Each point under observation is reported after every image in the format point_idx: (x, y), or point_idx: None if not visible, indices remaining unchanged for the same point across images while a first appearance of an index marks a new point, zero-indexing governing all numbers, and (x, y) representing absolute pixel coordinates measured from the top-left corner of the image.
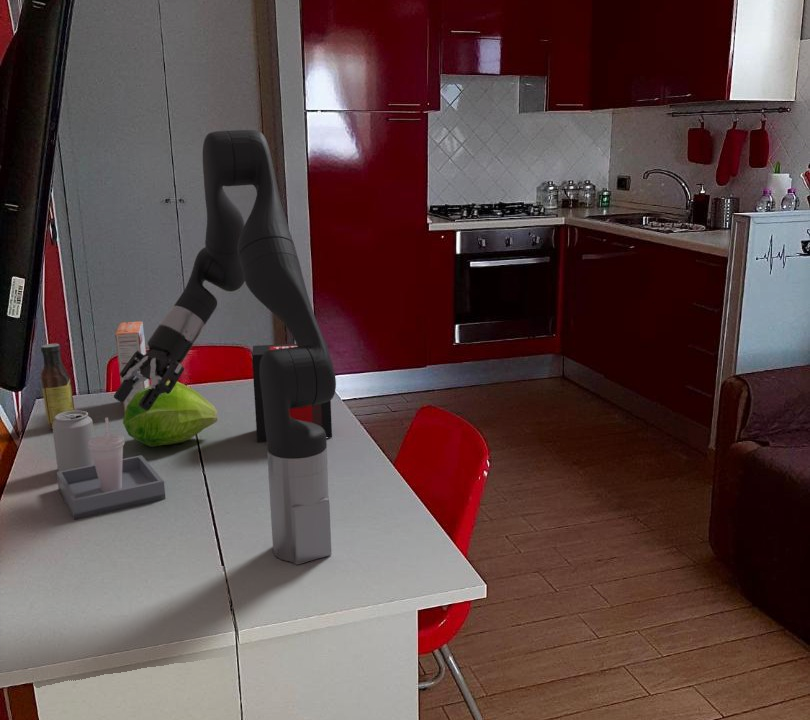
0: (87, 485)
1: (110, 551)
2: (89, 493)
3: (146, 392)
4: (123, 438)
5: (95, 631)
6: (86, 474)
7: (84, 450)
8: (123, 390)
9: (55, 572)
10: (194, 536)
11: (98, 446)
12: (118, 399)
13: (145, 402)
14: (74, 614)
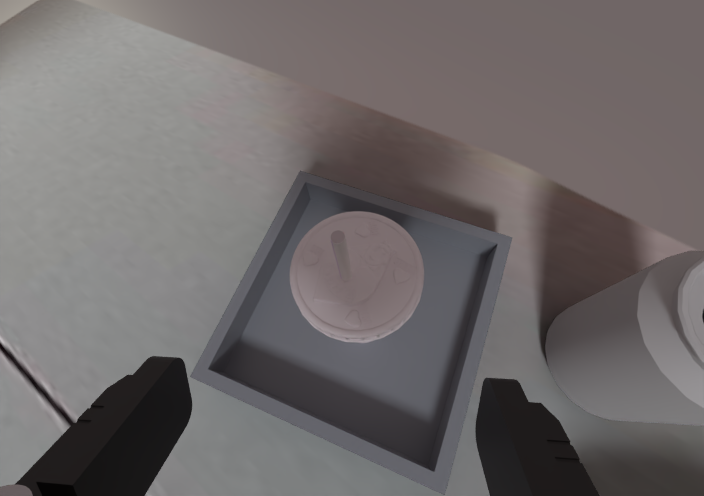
0: (431, 289)
1: (138, 168)
2: None
3: (100, 439)
4: (312, 321)
5: (6, 60)
6: (475, 307)
7: (579, 344)
8: (507, 466)
9: (168, 93)
10: (21, 289)
11: (324, 220)
12: (480, 400)
13: (120, 387)
14: (58, 62)
